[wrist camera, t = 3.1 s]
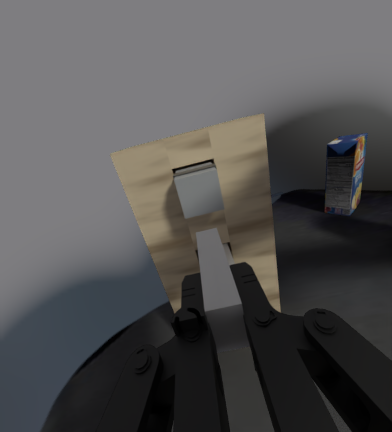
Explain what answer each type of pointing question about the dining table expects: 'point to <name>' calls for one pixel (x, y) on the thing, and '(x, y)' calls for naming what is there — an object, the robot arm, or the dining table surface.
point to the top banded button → (199, 189)
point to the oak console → (222, 220)
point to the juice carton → (344, 173)
